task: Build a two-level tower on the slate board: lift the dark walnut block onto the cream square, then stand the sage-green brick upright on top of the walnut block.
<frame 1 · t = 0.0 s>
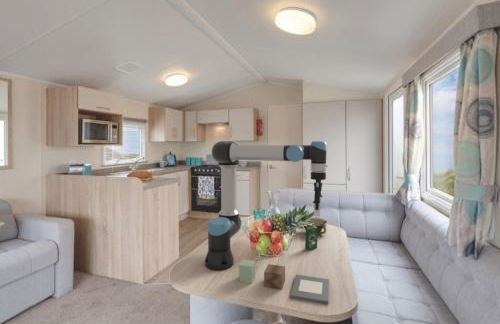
hand: (317, 212, 137), 28 cm above the table, tool pointing down, fingers open, 13 cm apart
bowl: (314, 233, 188), on the table
walnut block: (274, 284, 121), on the table
blueprint board: (310, 289, 116), on the table
coffee box: (311, 249, 161), on the table
sage brick: (247, 279, 125), on the table
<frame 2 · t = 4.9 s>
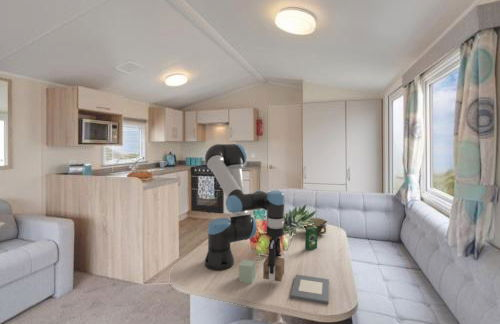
hand: (273, 274, 121), 4 cm above the table, tool pointing down, fingers closed on walnut block, 8 cm apart
walnut block: (273, 275, 121), point 3 cm above the table, touching gripper
everything else where it was.
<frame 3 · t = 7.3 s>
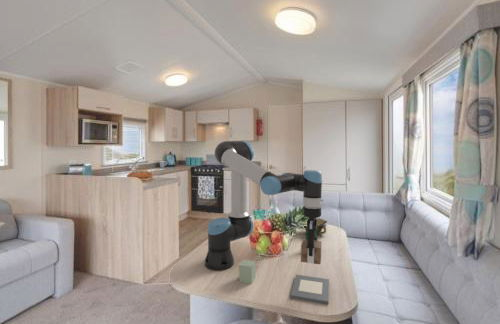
hand: (311, 258, 115), 14 cm above the table, tool pointing down, fingers closed on walnut block, 8 cm apart
walnut block: (311, 259, 115), point 14 cm above the table, touching gripper
everything else where it was.
when the fingers open (2 cm above the table, at t = 9.7 s): walnut block stays where it is, resting on blueprint board.
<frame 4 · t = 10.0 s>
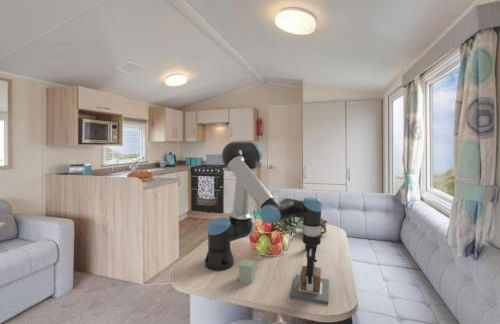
hand: (310, 282, 116), 3 cm above the table, tool pointing down, fingers open, 11 cm apart
walnut block: (310, 286, 116), point 1 cm above the table, touching blueprint board
everything else where it was.
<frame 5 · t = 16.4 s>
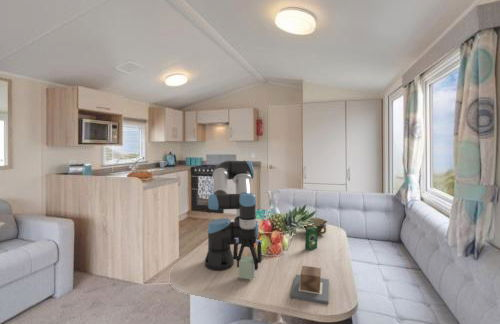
hand: (247, 274, 125), 2 cm above the table, tool pointing down, fingers closed on sage brick, 6 cm apart
sage brick: (247, 275, 125), point 2 cm above the table, touching gripper
everything else where it was.
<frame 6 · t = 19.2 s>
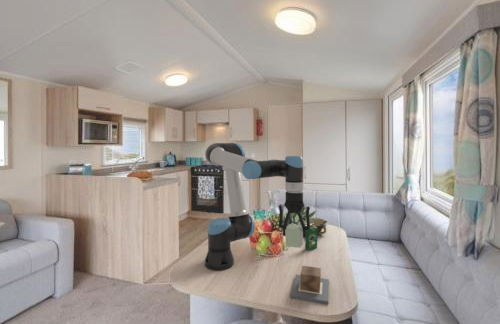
hand: (294, 243, 116), 20 cm above the table, tool pointing down, fingers closed on sage brick, 6 cm apart
sage brick: (294, 244, 116), point 19 cm above the table, touching gripper
everything else where it was.
when the fingers open (10 cm above the table, at t = 21.9 s): sage brick drops 1 cm, resting on walnut block.
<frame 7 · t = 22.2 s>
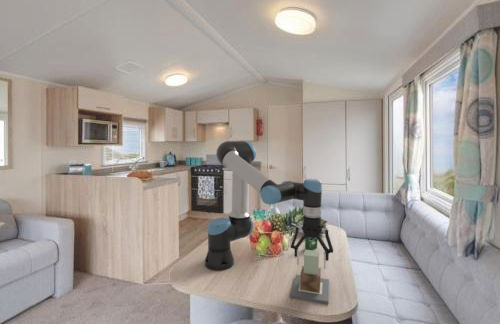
hand: (311, 265, 116), 11 cm above the table, tool pointing down, fingers open, 10 cm apart
walnut block: (310, 286, 116), point 1 cm above the table, touching blueprint board, sage brick
sage brick: (311, 270, 116), point 8 cm above the table, touching walnut block
everything else where it was.
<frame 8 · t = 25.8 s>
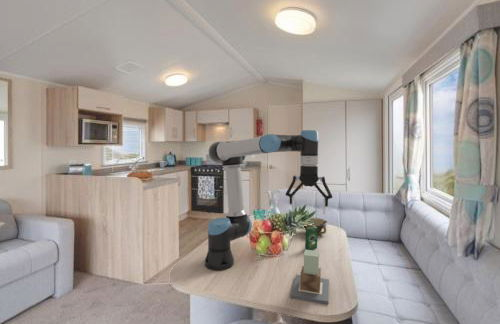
hand: (308, 212, 119), 33 cm above the table, tool pointing down, fingers open, 13 cm apart
nothing on the table moved.
at the end: walnut block 0.1 cm off-centre on the blueprint board, point 1.3 cm above the blueprint board's base; sage brick 0.1 cm off-centre on the walnut block, point 7.0 cm above the walnut block's base; sage brick tilted 0° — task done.
